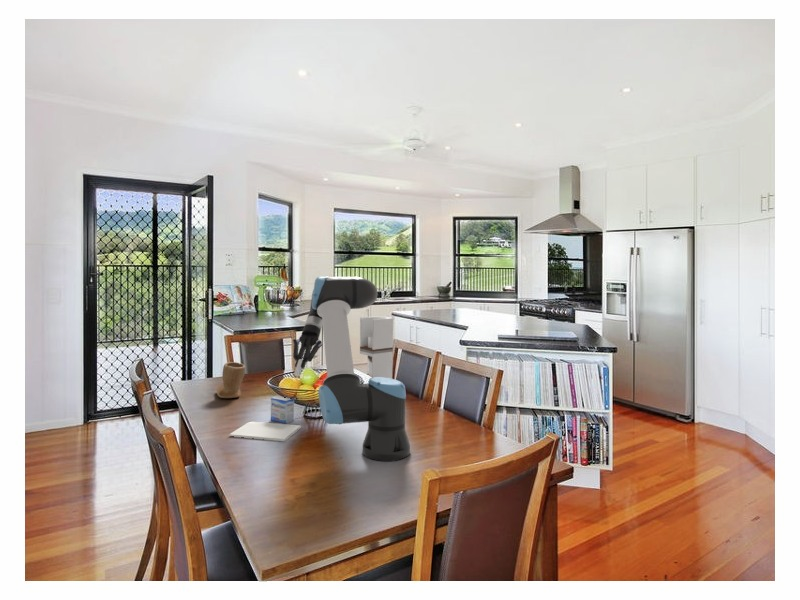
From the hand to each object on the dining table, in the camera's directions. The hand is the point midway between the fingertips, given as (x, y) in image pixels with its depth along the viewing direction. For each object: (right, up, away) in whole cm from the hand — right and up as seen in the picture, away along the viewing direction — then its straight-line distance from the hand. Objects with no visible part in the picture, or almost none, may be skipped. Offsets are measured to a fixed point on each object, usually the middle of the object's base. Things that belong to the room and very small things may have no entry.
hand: (297, 374), depth 192 cm
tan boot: (-34, -13, +20) cm, 41 cm away
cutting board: (-5, -16, -27) cm, 31 cm away
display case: (+31, -13, +32) cm, 46 cm away
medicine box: (-3, -16, -14) cm, 21 cm away
